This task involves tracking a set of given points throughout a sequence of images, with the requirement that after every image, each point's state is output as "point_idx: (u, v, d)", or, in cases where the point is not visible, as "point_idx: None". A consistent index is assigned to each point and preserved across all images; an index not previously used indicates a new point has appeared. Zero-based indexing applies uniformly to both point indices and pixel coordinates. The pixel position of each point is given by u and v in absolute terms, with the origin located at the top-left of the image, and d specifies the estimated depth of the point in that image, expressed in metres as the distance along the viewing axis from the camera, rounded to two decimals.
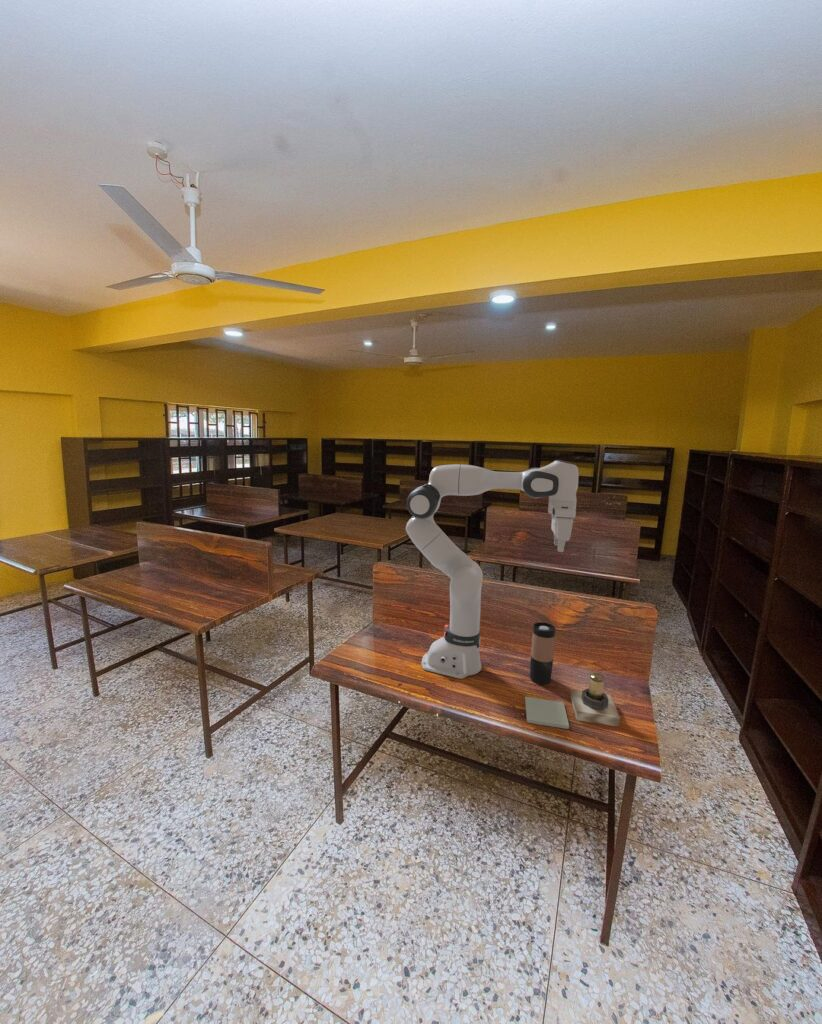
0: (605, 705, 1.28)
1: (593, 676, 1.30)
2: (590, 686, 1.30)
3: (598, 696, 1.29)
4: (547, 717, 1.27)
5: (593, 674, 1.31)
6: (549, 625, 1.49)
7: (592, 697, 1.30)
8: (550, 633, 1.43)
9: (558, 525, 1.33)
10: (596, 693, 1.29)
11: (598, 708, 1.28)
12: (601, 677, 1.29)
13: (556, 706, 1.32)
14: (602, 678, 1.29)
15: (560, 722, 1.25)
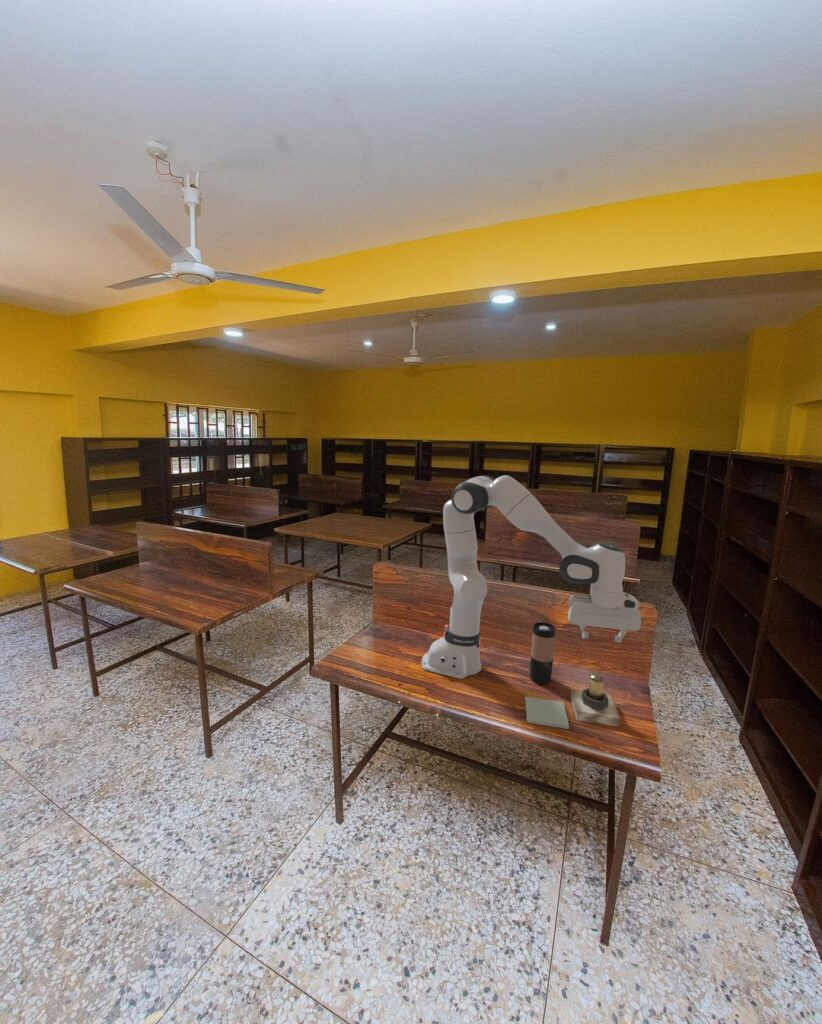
0: (605, 705, 1.28)
1: (593, 676, 1.30)
2: (590, 686, 1.30)
3: (598, 696, 1.29)
4: (547, 717, 1.27)
5: (593, 674, 1.31)
6: (549, 625, 1.49)
7: (592, 697, 1.30)
8: (550, 633, 1.43)
9: (640, 616, 1.23)
10: (596, 693, 1.29)
11: (598, 708, 1.28)
12: (601, 677, 1.29)
13: (556, 706, 1.32)
14: (602, 678, 1.29)
15: (560, 722, 1.25)
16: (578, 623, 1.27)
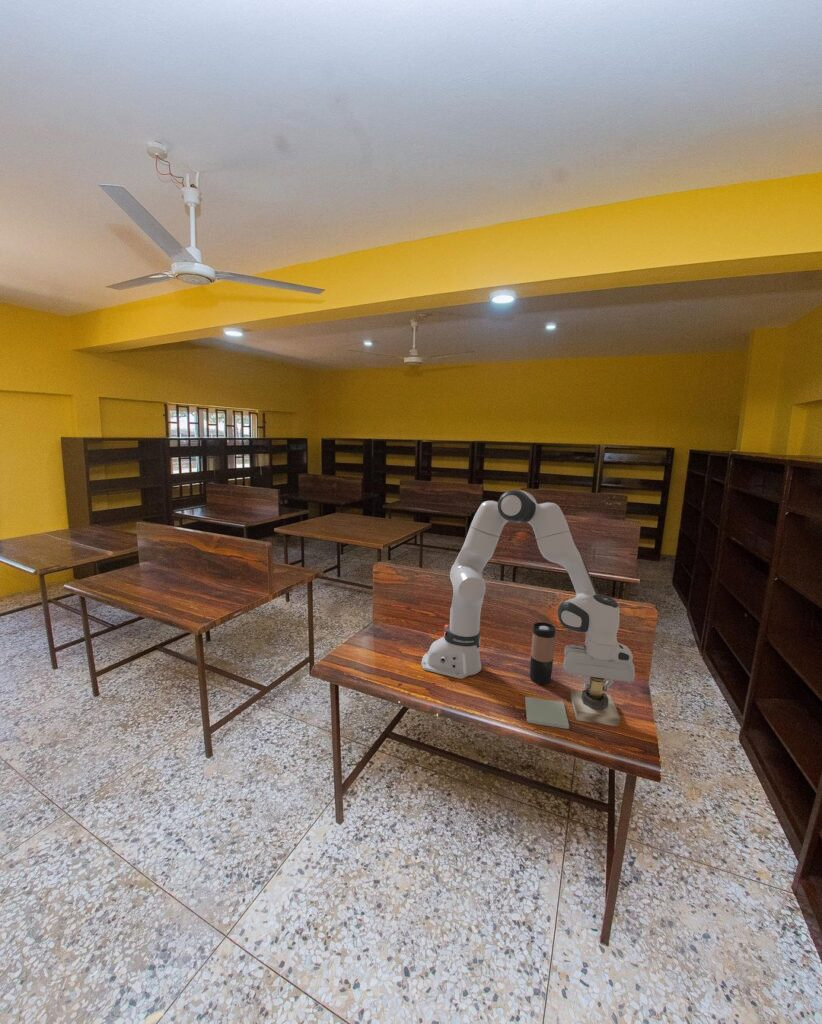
0: (605, 705, 1.28)
1: None
2: (590, 686, 1.30)
3: (598, 696, 1.29)
4: (547, 717, 1.27)
5: None
6: (549, 625, 1.49)
7: (592, 697, 1.30)
8: (550, 633, 1.43)
9: (634, 668, 1.26)
10: (596, 693, 1.29)
11: (598, 708, 1.28)
12: None
13: (556, 706, 1.32)
14: (602, 678, 1.29)
15: (560, 722, 1.25)
16: (573, 673, 1.30)
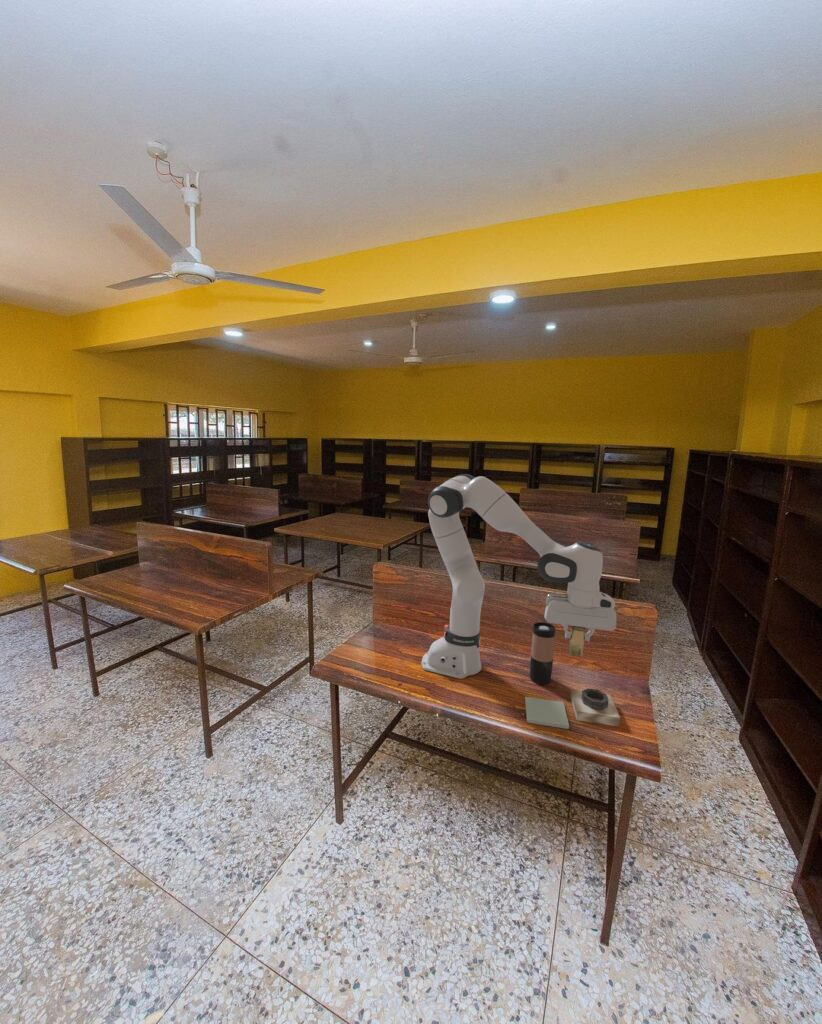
0: (605, 705, 1.28)
1: None
2: (571, 636, 1.27)
3: (579, 646, 1.26)
4: (547, 717, 1.27)
5: None
6: (549, 625, 1.49)
7: (573, 647, 1.27)
8: (550, 633, 1.43)
9: None
10: (577, 642, 1.26)
11: (598, 708, 1.28)
12: None
13: (556, 706, 1.32)
14: (583, 627, 1.26)
15: (560, 722, 1.25)
16: (554, 622, 1.27)
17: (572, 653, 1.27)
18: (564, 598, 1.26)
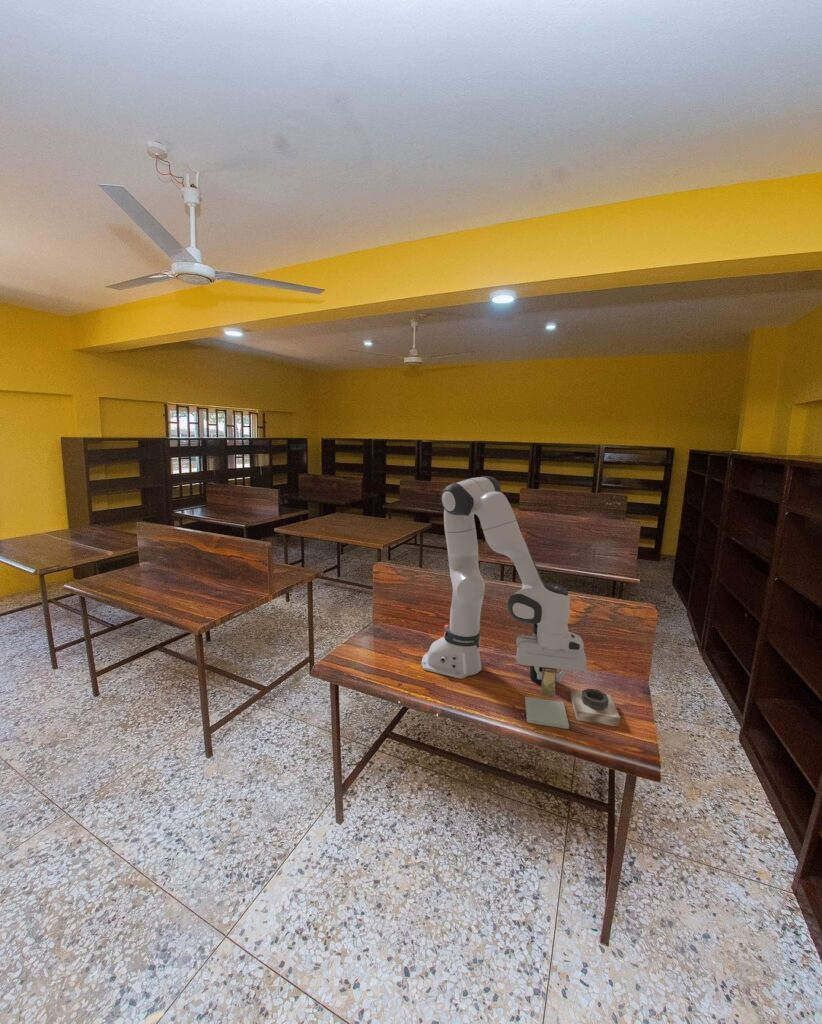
0: (605, 705, 1.28)
1: None
2: (543, 677, 1.28)
3: (550, 687, 1.27)
4: (547, 717, 1.27)
5: None
6: None
7: (544, 688, 1.27)
8: None
9: (585, 657, 1.23)
10: (548, 683, 1.27)
11: (598, 708, 1.28)
12: None
13: (556, 706, 1.32)
14: None
15: (560, 722, 1.25)
16: (525, 663, 1.27)
17: (544, 694, 1.28)
18: (534, 640, 1.27)
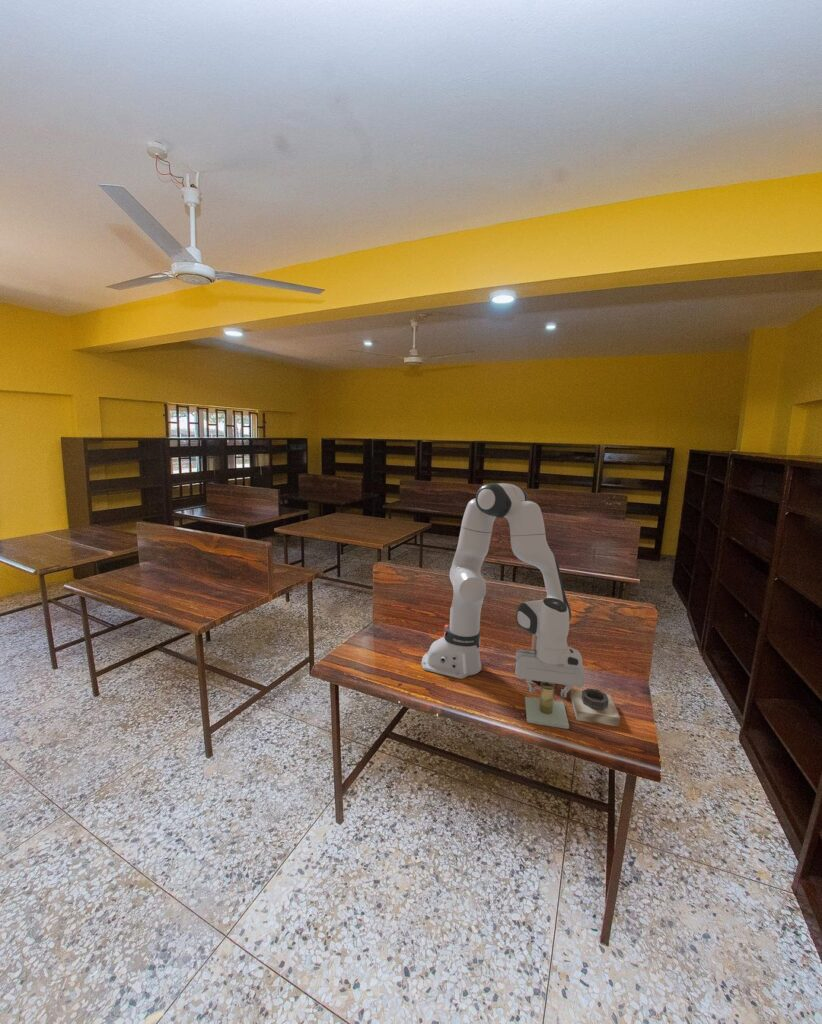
0: (605, 705, 1.28)
1: (543, 683, 1.29)
2: (541, 693, 1.29)
3: (549, 704, 1.28)
4: (547, 717, 1.27)
5: None
6: None
7: (543, 705, 1.28)
8: None
9: None
10: (546, 700, 1.28)
11: (598, 708, 1.28)
12: (551, 684, 1.28)
13: (556, 706, 1.32)
14: (552, 685, 1.28)
15: (560, 722, 1.25)
16: (524, 677, 1.28)
17: (542, 711, 1.29)
18: (533, 654, 1.28)
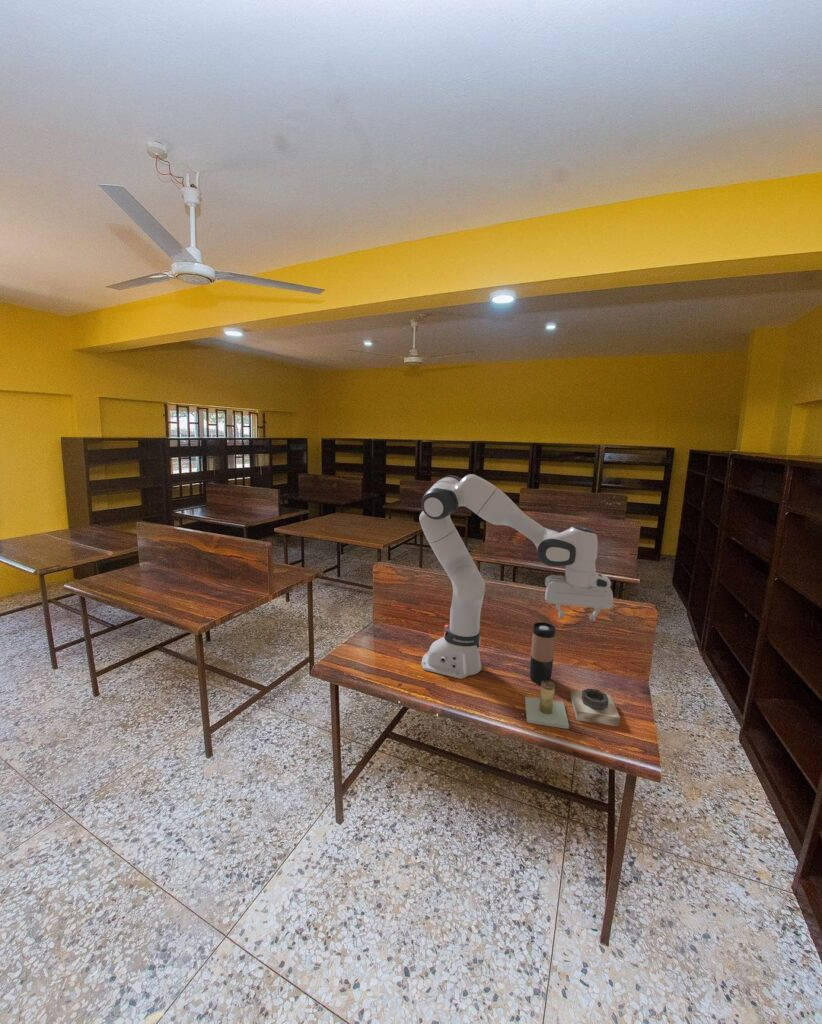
0: (605, 705, 1.28)
1: (544, 684, 1.29)
2: (541, 694, 1.29)
3: (549, 704, 1.28)
4: (547, 717, 1.27)
5: (544, 681, 1.30)
6: (549, 625, 1.49)
7: (543, 705, 1.28)
8: (550, 633, 1.43)
9: (612, 594, 1.29)
10: (546, 700, 1.28)
11: (598, 708, 1.28)
12: (552, 685, 1.28)
13: (556, 706, 1.32)
14: (552, 686, 1.28)
15: (560, 722, 1.25)
16: (554, 602, 1.34)
17: (542, 711, 1.29)
18: (562, 579, 1.34)
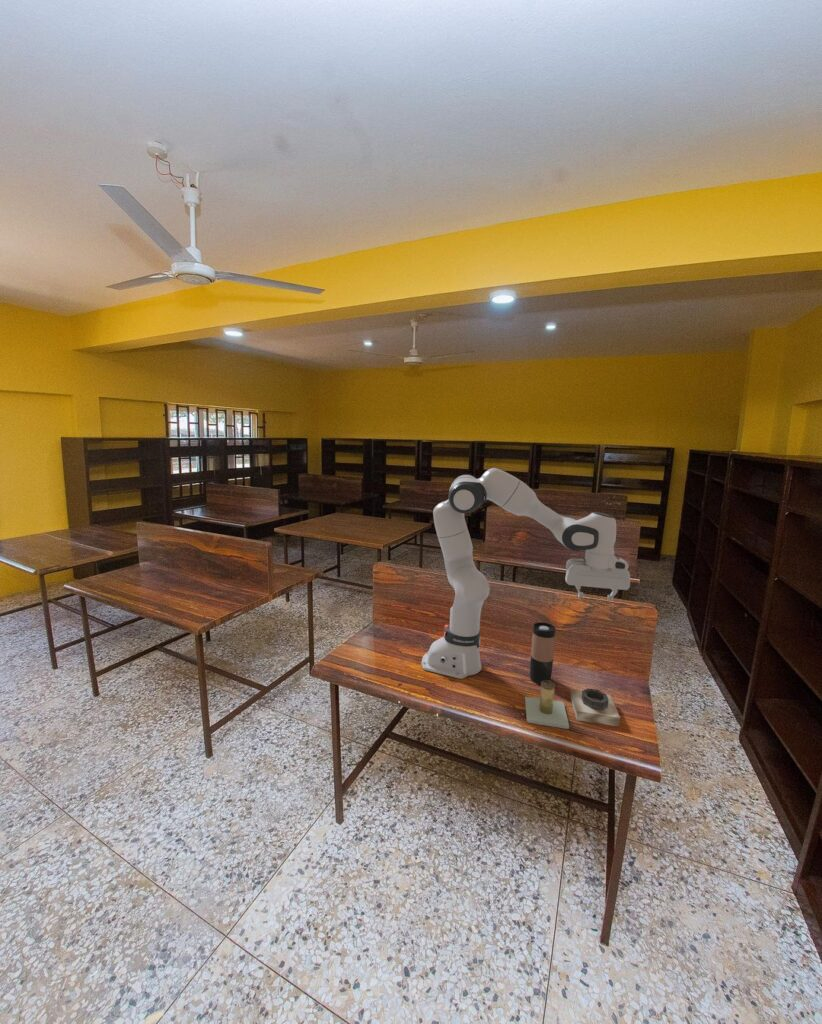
0: (605, 705, 1.28)
1: (544, 683, 1.29)
2: (541, 694, 1.29)
3: (549, 704, 1.28)
4: (547, 717, 1.27)
5: (544, 681, 1.30)
6: (549, 625, 1.49)
7: (543, 705, 1.28)
8: (550, 633, 1.43)
9: (629, 576, 1.38)
10: (546, 700, 1.28)
11: (598, 708, 1.28)
12: (552, 685, 1.28)
13: (556, 706, 1.32)
14: (552, 685, 1.28)
15: (560, 722, 1.25)
16: (574, 584, 1.42)
17: (542, 711, 1.29)
18: (582, 562, 1.42)
